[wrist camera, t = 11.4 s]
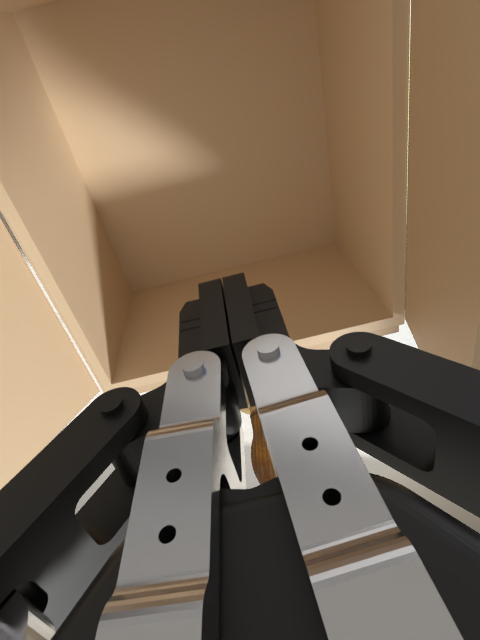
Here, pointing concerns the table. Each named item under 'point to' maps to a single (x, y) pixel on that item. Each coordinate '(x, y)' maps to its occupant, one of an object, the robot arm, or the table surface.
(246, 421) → the table surface
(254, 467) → the hand bell
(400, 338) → the table surface
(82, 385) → the outer flap
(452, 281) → the panel
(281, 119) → the carton
